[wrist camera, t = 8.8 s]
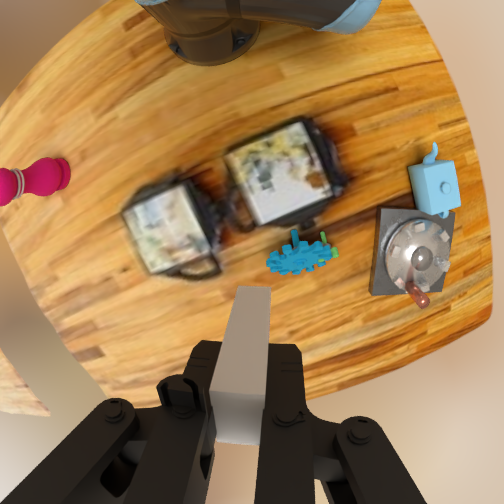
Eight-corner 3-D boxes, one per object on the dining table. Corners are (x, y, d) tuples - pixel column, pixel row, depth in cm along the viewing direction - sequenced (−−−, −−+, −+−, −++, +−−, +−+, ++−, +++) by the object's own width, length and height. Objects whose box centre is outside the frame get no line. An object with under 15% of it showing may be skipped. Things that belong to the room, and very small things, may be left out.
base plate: (377, 206, 43) (381, 208, 41) (449, 210, 41) (455, 212, 39) (368, 290, 47) (372, 296, 45) (436, 287, 46) (441, 292, 44)
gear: (266, 281, 47) (268, 254, 38) (262, 249, 49) (262, 216, 40) (331, 273, 47) (347, 245, 38) (324, 242, 49) (337, 210, 41)
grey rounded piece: (374, 280, 44) (389, 302, 37) (398, 209, 40) (419, 220, 33) (430, 293, 44) (448, 313, 37) (454, 229, 40) (478, 242, 33)
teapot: (399, 146, 39) (420, 145, 32) (428, 140, 38) (452, 138, 31) (415, 216, 42) (436, 226, 35) (442, 207, 41) (466, 216, 34)
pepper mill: (76, 163, 44) (-4, 177, 25) (67, 197, 46) (-9, 224, 27) (53, 151, 43) (-24, 161, 24) (45, 184, 46) (-29, 205, 27)
